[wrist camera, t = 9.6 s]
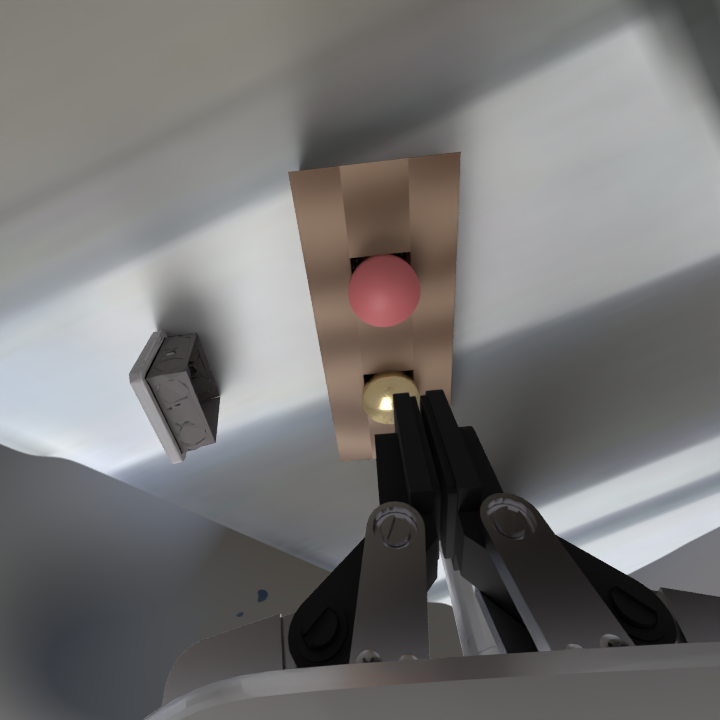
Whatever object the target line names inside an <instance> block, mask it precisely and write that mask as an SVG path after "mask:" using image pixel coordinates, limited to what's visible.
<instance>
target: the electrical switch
mask: <svg viewBox="0 0 720 720" xmlns="http://www.w3.org/2000/svg"><path fill="white" fill-rule="evenodd" d="M196 347H197V348H198V349H197V348H196ZM198 355H199V358H198ZM194 361H195V362H194ZM188 362H193V363H188ZM188 367H194V368H195V369H196V373H194V374H191V373H190V370H189V368H188ZM199 376H201V377H199ZM196 377H197V378H196ZM129 378H130V384H131V386H132V388H133V390H134V392H135V394H136V396H137V398H138V399H139V401H140V403H141V405H142V407H143V409H144V411H145V413H146V415H147V417H148V419H149V421H150V423H151V425H152V427H153V429H154V430H155V432H156V434H157V436H158V438H159V440H160V442H161V444H162V446H163V448H164V450H165V452H166V454H167V456H168V458H169V460H170V462H171V463H173V464H175V463H180V462H183V461H184V459H185V457H186V452H187V451H191V450H196V449H197V448H199V447H201V446H205V445H209V444H213V443H216V434H217V424H218V414H219V404H220V397H219V393H218V390H217V387H216V385H215V382H214V379H213V377H212V374H211V371H210V368H209V366H208V363H207V360H206V358H205V355H204V352H203V349H202V347H201V344H200V341H199V338H198V336H197V333H195V334H190V335H185V336H174V337H168V336H167V334H166V332H165V331H164V330H161V331H157V332H153V334H152V335H151V337H150V339H149V340H148V342H147V344H146V346H145V347H144V349H143V351H142V353H141V354H140V356H139V358H138V359H137V361H136V363H135V365H134V366H133V368H132V370H131V371H130V373H129ZM191 378H194V379H192V380H191ZM190 380H191V381H190ZM209 380H210V381H209ZM209 390H210V391H209ZM215 397H217V398H215ZM211 398H212V399H211Z"/></svg>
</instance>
